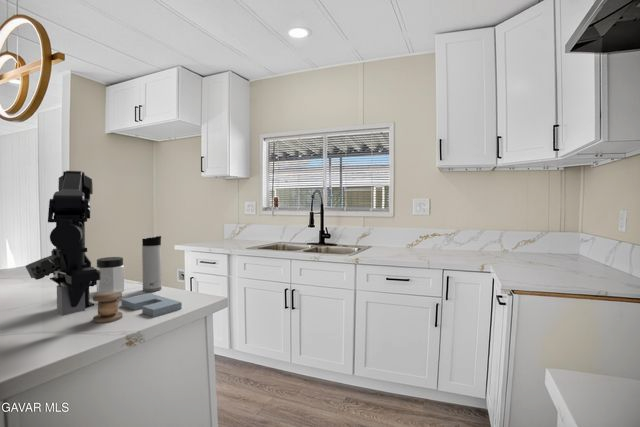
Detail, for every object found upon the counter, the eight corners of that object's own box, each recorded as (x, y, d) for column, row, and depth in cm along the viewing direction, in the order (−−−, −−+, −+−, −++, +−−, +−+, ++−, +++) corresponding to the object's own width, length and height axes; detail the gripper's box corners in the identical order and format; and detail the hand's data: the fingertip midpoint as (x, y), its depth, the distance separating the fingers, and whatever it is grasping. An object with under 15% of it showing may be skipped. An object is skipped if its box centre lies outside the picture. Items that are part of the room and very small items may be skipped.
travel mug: (154, 292, 123) (154, 237, 122) (138, 291, 124) (138, 236, 123) (166, 288, 129) (165, 235, 128) (150, 287, 130) (150, 234, 130)
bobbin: (88, 319, 95) (88, 295, 95) (115, 312, 101) (114, 290, 101) (100, 324, 91) (100, 300, 91) (127, 317, 97) (127, 294, 97)
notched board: (121, 305, 108) (121, 299, 108) (149, 298, 115) (149, 292, 115) (153, 316, 98) (153, 309, 98) (181, 308, 105) (181, 302, 105)
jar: (91, 295, 119) (91, 261, 118) (101, 289, 127) (100, 257, 126) (120, 294, 121) (119, 260, 120) (127, 288, 129) (127, 256, 128)
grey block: (57, 313, 86) (56, 283, 85) (80, 308, 90) (79, 279, 89) (62, 315, 84) (61, 285, 84) (85, 310, 88) (84, 281, 88)
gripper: (16, 244, 85) (17, 307, 85) (45, 251, 74) (46, 322, 75) (68, 240, 94) (69, 296, 95) (101, 246, 84) (102, 309, 84)
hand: (71, 305), depth 87 cm, fingers closed on grey block, 3 cm apart
